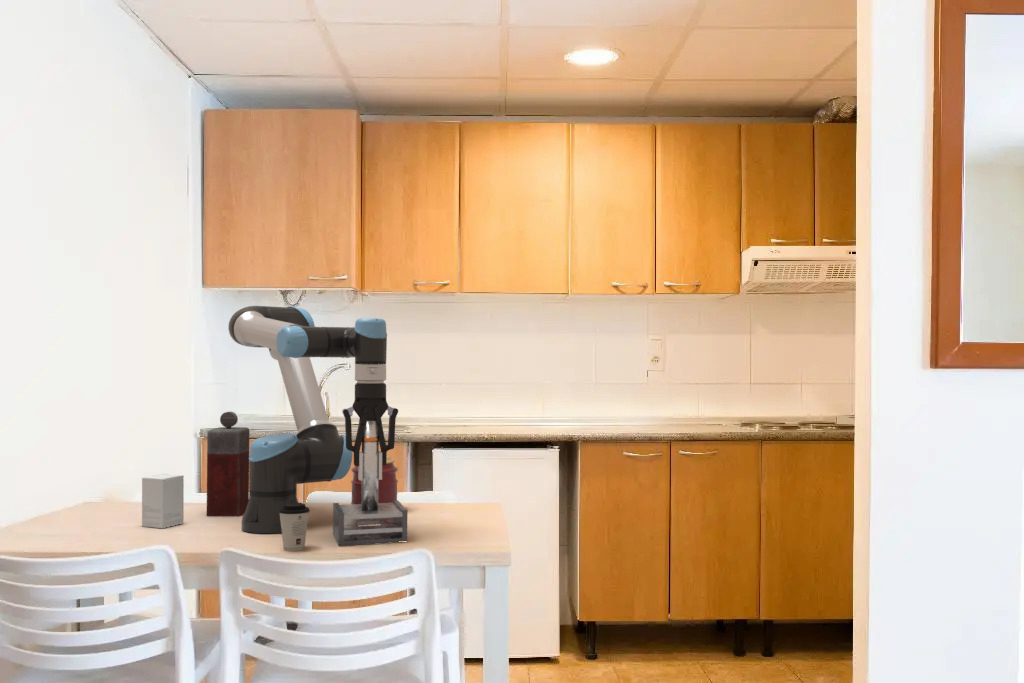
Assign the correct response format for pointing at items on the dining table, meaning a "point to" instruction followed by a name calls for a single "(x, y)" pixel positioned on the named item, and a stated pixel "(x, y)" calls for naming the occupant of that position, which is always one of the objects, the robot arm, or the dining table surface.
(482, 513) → the dining table surface
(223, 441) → the square decanter
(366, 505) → the tube
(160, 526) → the supplement box
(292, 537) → the coffee cup
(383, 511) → the collar stand
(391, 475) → the canister
